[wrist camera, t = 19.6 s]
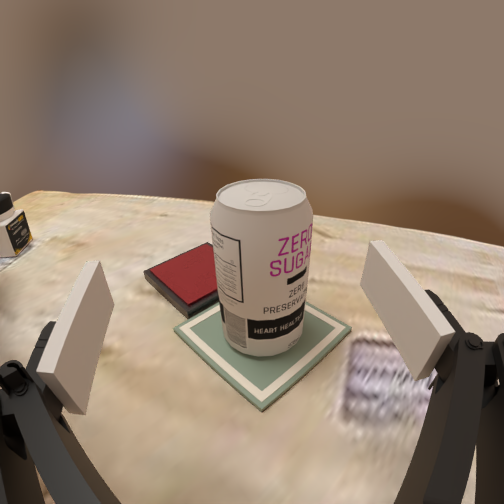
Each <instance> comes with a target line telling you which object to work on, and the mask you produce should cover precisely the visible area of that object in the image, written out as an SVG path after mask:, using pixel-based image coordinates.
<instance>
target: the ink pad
mask: <svg viewBox="0 0 504 504" xmlns="http://www.w3.org/2000/svg"><path fill="white" fill-rule="evenodd" d="M144 275H145V279H146V280H147V281H148V282H149V283H150V284H151V285H152V286H153V287H154V288H155V289H157V290H158V291H159V292H160V293H161V294H162V295H163V296H164V297H165V298H166V299H167V300H168V301H169V302H170V303H171V304H172V305H173V306H174V307H175V308H176V309H178V310H179V311H180V312H181V313H182V314H183V315H184V316H185V317H186V318H187V319H190V318H192V317H194V316H195V315H197V314H199V313H201V312H202V311H204V310H206V309H208V308H209V307H211V306H213V305H215V304H216V303H218V302H219V296H218V288H217V279H216V270H215V261H214V251H213V245H212V244H210V243H208V242H207V243H205V244H202V245H200V246H198V247H196V248H193V249H191V250H189V251H187V252H185V253H182V254H180V255H178V256H176V257H174V258H171V259H169V260H167V261H165V262H163V263H160V264H158V265H156V266H154V267H152V268H150V269H147V270H145V271H144Z"/></svg>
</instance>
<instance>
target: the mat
mask: <svg viewBox="0 0 504 504" xmlns="http://www.w3.org/2000/svg"><path fill="white" fill-rule="evenodd" d="M351 329H352V327H350V326H348V325H346V324H345V323H343V322H341V321H339V320H338V319H336V318H334V317H332V316H331V315H329V314H327V313H325V312H324V311H322V310H320V309H318V308H317V307H315V306H313V305H311V304H309V303H308V302H306V303H305V313H304V321H303V330H302V334H301V336H300V338H299V340H298V342H297V343H296V344H295V345H294V346H292V347H291V348H290V349H288V350H287V351H285V352H282V353H279V354H276V355H274V356H259V357H257V356H253V355H248V354H244V353H242V352H240V351H238V350H237V349H235V348H233V347H232V346H231V345H230V344H229V343H228V341H227V340H226V339H225V338H224V333H223V328H222V321H221V313H220V305H219V302H218V303H216V304H215V305H213V306H211V307H209V308H208V309H206V310H204V311H202V312H201V313H199V314H197V315H195V316H194V317H192V318H190V319H188V320H187V321H185V322H183V323H181V324H179V325H178V326H176V327H174V328H173V330H174V332H175V333H176V334H177V335H178V336H179V337H180V338H181V339H182V340H183V341H184V342H185V343H186V344H187V345H188V346H189V347H190V348H191V349H192V350H193V351H194V352H195V353H196V354H197V355H198V356H199V357H200V358H202V359H203V360H204V361H205V362H206V363H207V364H208V365H209V366H210V367H211V368H212V369H213V370H214V371H215V372H216V373H218V374H219V375H220V376H221V377H222V378H223V379H224V380H225V381H226V382H227V383H229V384H230V385H231V386H232V387H233V388H234V389H235V390H236V391H238V392H239V393H240V394H241V395H242V396H243V397H244V398H246V399H247V400H248V401H249V402H250V403H252V404H253V405H254V406H255V407H256V408H257V409H259V410H260V411H261V412H262V411H263V410H265V409H266V408H267V407H268V406H270V405H271V404H272V403H273V402H274V401H276V400H277V399H278V398H279V397H280V396H281V395H283V394H284V393H285V392H286V391H287V390H288V389H290V388H291V387H292V386H293V385H294V384H295V383H296V382H298V381H299V380H300V379H301V378H302V377H303V376H304V375H305V374H307V373H308V372H309V371H310V370H311V369H312V368H313V367H314V366H315V365H316V364H317V363H318V362H320V361H321V360H322V359H323V358H324V357H325V356H326V355H327V354H328V353H329V352H330V351H331V350H332V349H333V348H334V347H335V346H336V345H337V344H338V343H339V342H340V341H341V340H342V339H343V338H344V337H345V336H346V335H347V334H348V333H349V332H350V331H351Z"/></svg>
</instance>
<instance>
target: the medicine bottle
mask: <svg viewBox="0 0 504 504" xmlns="http://www.w3.org/2000/svg"><path fill="white" fill-rule="evenodd" d="M31 240H32V235H31V232H30V229H29V226H28V223H27V220H26V217H25V213H24V210H23V209H21V210H15V211H14V205H13V202H12V198H11V195H10V193H9V192H2V193H0V257H15V256H17V255H18V254H19V253H20V252H21V251H22V250H23V249H24V248H25V247H26V246H27V245H28V244H29V242H30V241H31Z"/></svg>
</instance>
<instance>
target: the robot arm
mask: <svg viewBox="0 0 504 504" xmlns="http://www.w3.org/2000/svg"><path fill="white" fill-rule="evenodd" d="M360 286H361V287H362V289H363V291H364V292H365V294H366V296H367V297H368V299H369V301H370V302H371V304H372V306H373V307H374V309H375V311H376V312H377V314H378V316H379V318H380V319H381V321H382V323H383V324H384V326H385V328H386V330H387V331H388V333H389V335H390V337H391V338H392V340H393V342H394V344H395V346H396V347H397V349H398V351H399V353H400V355H401V356H402V358H403V360H404V362H405V364H406V366H407V367H408V369H409V371H410V373H411V375H412V377H413V379H414V381H417V380H420V379H423V378H426V377H429V376H430V374H431V373H432V371H433V369H434V368H435V369H436V371H437V373H438V374H437V375H436V377H435V378H434V380H433V381H432V383H431V384H430V386H429V388H428V389H429V390H430V389H431V388H432V386H433V389H432V394H431V398H430V402H429V406H428V409H427V413H426V417H425V420H424V424H423V427H422V430H421V433H420V437H419V440H418V443H417V446H416V449H415V452H414V455H413V457H412V460H411V463H410V466H409V468H408V471H407V474H406V476H405V479H404V481H403V484H402V486H401V488H400V491H399V493H398V495H397V498H396V500H395V502H394V504H461V502H462V498H463V495H464V492H465V488H466V485H467V481H468V477H469V473H470V469H471V465H472V460H473V456H474V451H475V446H476V492H475V504H504V333H501V334H500V335H499V336H498V337H497V339H496V340H495V342H483V340H482V339H481V338H480V337H479V336H478V335H476V334H474V333H470V332H467V333H466V332H465V331H464V330H463V328H462V327H461V326H460V324H459V323H458V322H457V320H456V319H455V318H454V316H453V315H452V314H451V312H450V311H448V308H447V307H446V306H445V305H444V303H443V302H442V301H441V299H440V298H439V297H438V296H437V295H436V294H434V293H433V292H432V291H430V290H424V289H423V288H422V287H421V286H420V284H419V283H418V282H417V281H416V279H415V278H414V277H413V276H412V274H411V273H410V272H409V271H408V270H407V268H406V267H405V266H404V265H403V264H402V262H401V261H400V260H399V259H398V258H397V256H396V255H395V254H394V253H393V252H392V251H391V249H390V248H389V247H388V246H387V245H386V244H385V243H384V241H383V240H379V241H370V242H369V247H368V252H367V256H366V261H365V265H364V270H363V274H362V278H361V283H360ZM113 307H114V302H113V299H112V296H111V293H110V290H109V287H108V284H107V281H106V278H105V275H104V272H103V269H102V266H101V263H100V260H99V261H86V263H85V264H84V266H83V268H82V270H81V272H80V274H79V276H78V278H77V280H76V282H75V284H74V286H73V288H72V290H71V292H70V294H69V296H68V298H67V300H66V302H65V304H64V306H63V308H62V310H61V313H60V315H59V317H58V319H57V321H56V322H53V321H50V322H49V323H48V324H47V325H46V326H45V327H44V328H43V330H42V332H41V334H40V336H39V338H38V341H37V343H36V345H35V348H34V350H33V352H32V354H31V357H30V359H29V362H28V364H27V367H26V369H25V368H24V367H23V365H22V364H21V363H20V362H19V361H17V360H11V361H8V362H6V363H4V364H3V365H2V366H1V367H0V387H1V388H2V389H0V504H45V501H44V498H43V495H42V491H41V488H40V484H39V481H38V477H37V473H36V469H35V466H36V468H37V470H38V472H39V474H40V476H41V478H42V480H43V482H44V484H45V485H46V487H47V489H48V491H49V493H50V495H51V496H52V498H53V500H54V502H55V503H56V504H121V503H120V502H119V500H118V499H117V498H116V496H115V495H114V494H113V492H112V491H111V490H110V488H109V487H108V486H107V484H106V483H105V482H104V480H103V479H102V477H101V476H100V475H99V473H98V472H97V470H96V469H95V467H94V466H93V464H92V463H91V461H90V460H89V458H88V457H87V455H86V453H85V452H84V450H83V449H82V447H81V445H80V444H79V442H78V440H77V439H76V437H75V435H74V434H73V432H72V430H71V428H70V427H69V425H68V423H67V421H66V419H65V417H64V416H63V415H62V414H61V412H62V408H63V406H64V407H65V409H66V410H67V411H68V412H69V413H72V414H80V415H86V410H87V406H88V401H89V396H90V392H91V387H92V383H93V379H94V375H95V371H96V367H97V363H98V359H99V355H100V352H101V348H102V344H103V341H104V337H105V334H106V330H107V327H108V324H109V320H110V317H111V314H112V311H113ZM498 379H499V383H500V385H498V381H497V380H498ZM34 464H35V465H34Z"/></svg>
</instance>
